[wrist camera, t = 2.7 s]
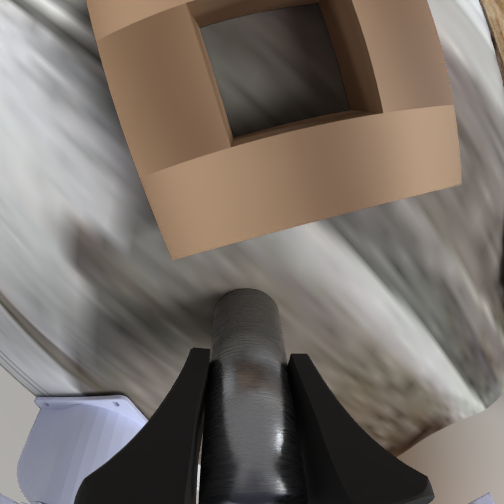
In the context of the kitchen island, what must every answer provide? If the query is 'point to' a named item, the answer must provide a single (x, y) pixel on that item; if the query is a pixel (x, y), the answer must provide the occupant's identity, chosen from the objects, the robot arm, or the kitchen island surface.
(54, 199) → the kitchen island surface
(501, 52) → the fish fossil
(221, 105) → the walnut hole block
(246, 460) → the steel peg
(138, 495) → the robot arm
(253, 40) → the kitchen island surface
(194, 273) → the kitchen island surface
